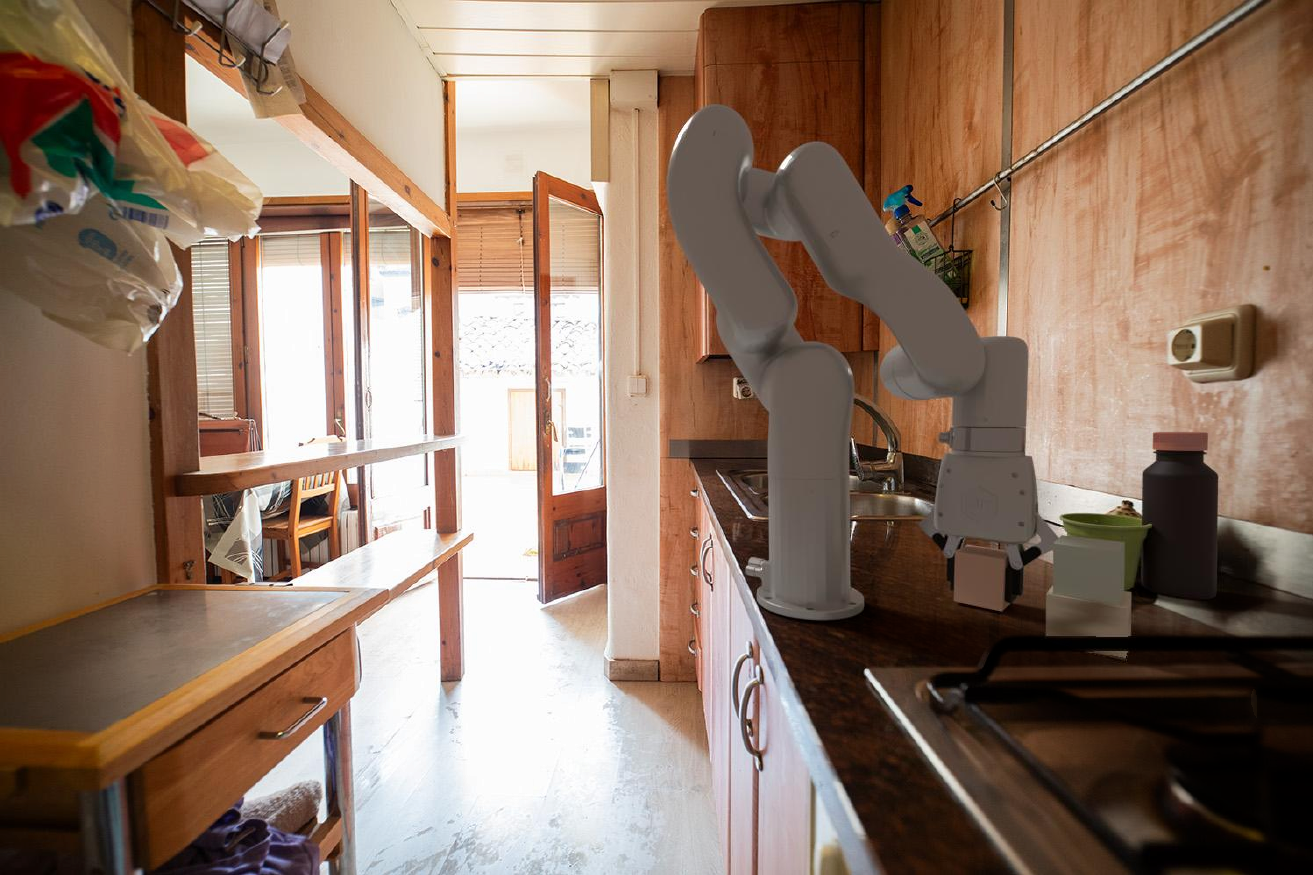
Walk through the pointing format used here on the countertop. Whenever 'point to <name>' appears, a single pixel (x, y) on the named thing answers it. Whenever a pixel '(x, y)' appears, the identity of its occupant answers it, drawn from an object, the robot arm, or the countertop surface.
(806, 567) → the robot arm
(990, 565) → the block
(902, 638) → the countertop surface
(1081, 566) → the tower top
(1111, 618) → the tower base
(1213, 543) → the bottle
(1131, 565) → the plant pot
